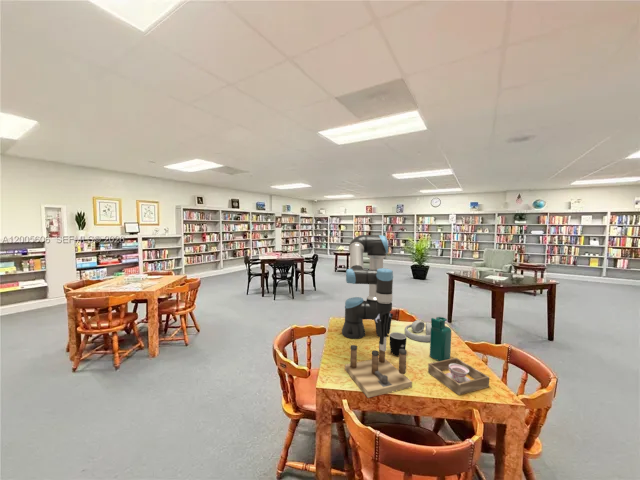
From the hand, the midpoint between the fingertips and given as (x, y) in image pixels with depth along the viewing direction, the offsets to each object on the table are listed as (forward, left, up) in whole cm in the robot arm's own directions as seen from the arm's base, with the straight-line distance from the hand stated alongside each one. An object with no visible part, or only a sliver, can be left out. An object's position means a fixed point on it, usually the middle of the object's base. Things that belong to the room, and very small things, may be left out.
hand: (382, 349), depth 124 cm
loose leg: (+11, +3, -6) cm, 13 cm away
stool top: (+3, -5, -11) cm, 13 cm away
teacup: (+17, +29, -12) cm, 36 cm away
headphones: (-28, +47, -12) cm, 56 cm away
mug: (-14, +20, -12) cm, 27 cm away
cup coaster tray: (+16, +30, -11) cm, 36 cm away
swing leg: (+7, -6, -8) cm, 12 cm away
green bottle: (-2, +37, -12) cm, 39 cm away
